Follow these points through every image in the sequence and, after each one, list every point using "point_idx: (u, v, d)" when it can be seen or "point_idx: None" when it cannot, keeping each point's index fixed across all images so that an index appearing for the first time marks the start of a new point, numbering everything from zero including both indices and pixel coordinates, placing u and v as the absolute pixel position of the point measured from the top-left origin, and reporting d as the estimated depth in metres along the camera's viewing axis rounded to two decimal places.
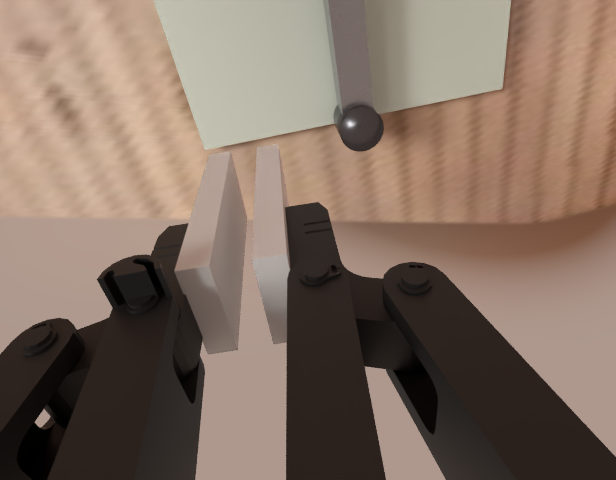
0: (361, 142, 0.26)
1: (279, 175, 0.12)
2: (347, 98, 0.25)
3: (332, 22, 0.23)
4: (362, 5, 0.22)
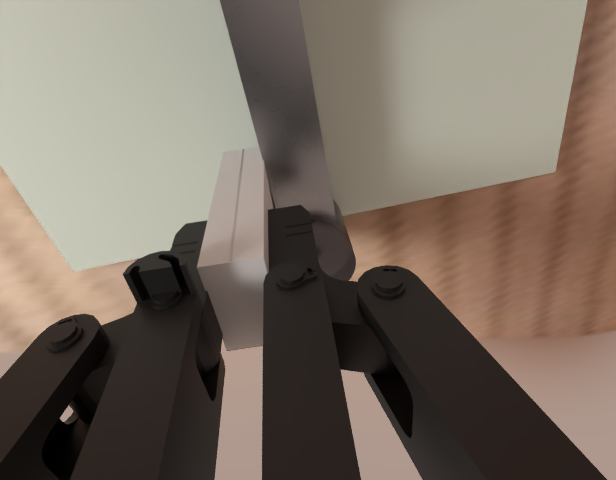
0: None
1: (262, 177, 0.12)
2: None
3: (246, 88, 0.12)
4: (303, 56, 0.11)
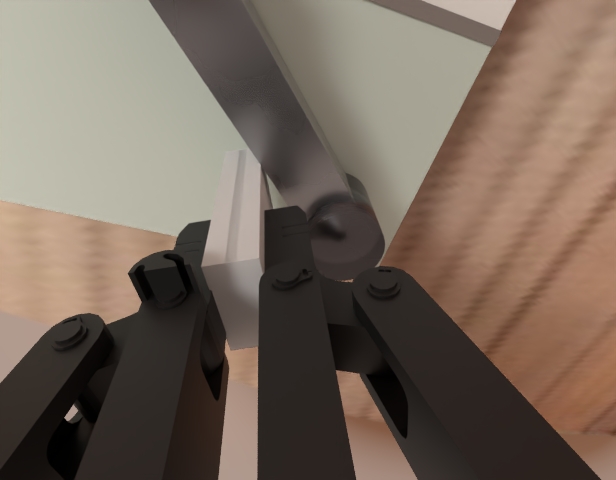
0: (351, 266, 0.14)
1: (259, 178, 0.12)
2: (300, 202, 0.13)
3: (214, 91, 0.11)
4: (257, 39, 0.11)
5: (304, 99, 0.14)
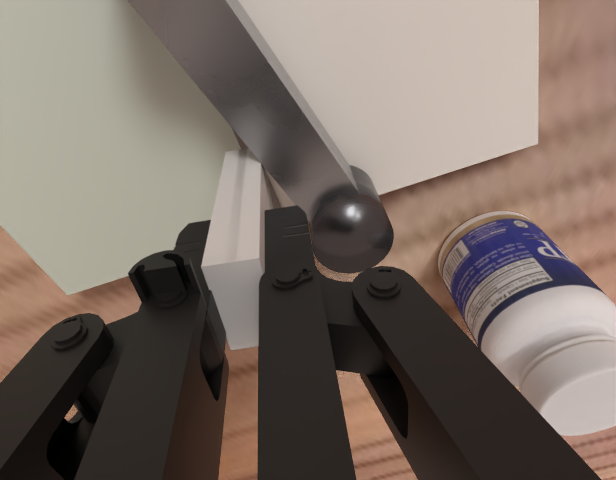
0: (361, 257, 0.14)
1: (259, 178, 0.12)
2: (305, 198, 0.14)
3: (209, 95, 0.11)
4: (247, 39, 0.11)
5: (301, 95, 0.14)
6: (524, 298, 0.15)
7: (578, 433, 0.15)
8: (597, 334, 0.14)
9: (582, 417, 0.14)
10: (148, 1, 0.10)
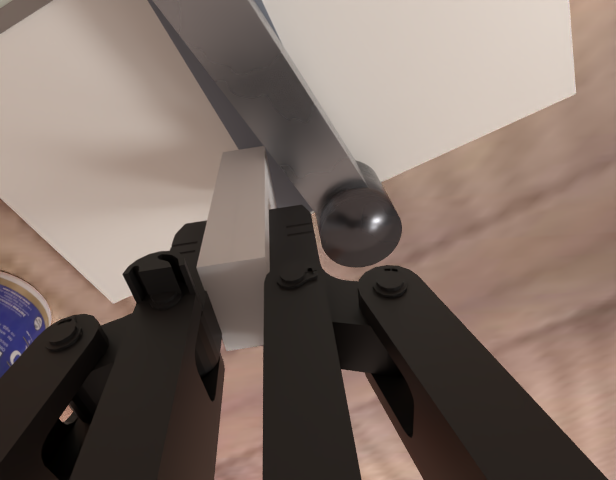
0: (369, 251, 0.14)
1: (263, 177, 0.12)
2: (314, 191, 0.14)
3: (221, 85, 0.11)
4: (261, 30, 0.11)
5: (310, 89, 0.14)
6: None
7: None
8: None
9: None
10: None
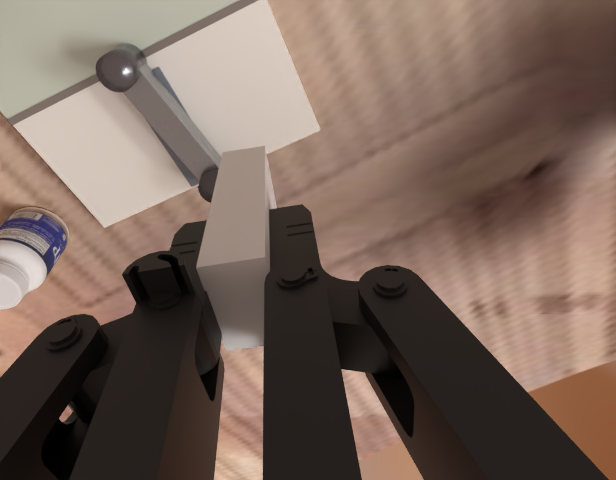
0: None
1: (263, 177, 0.12)
2: (195, 169, 0.32)
3: (153, 126, 0.30)
4: (167, 107, 0.29)
5: (195, 126, 0.32)
6: (28, 247, 0.33)
7: None
8: (26, 278, 0.32)
9: None
10: (131, 94, 0.28)
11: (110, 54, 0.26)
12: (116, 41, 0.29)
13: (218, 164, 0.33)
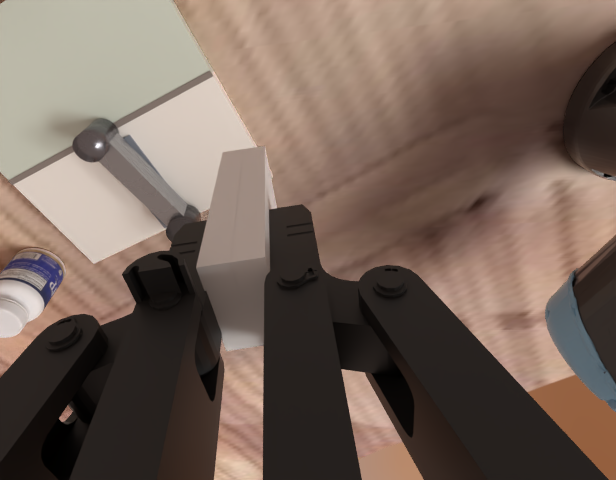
0: None
1: (263, 177, 0.12)
2: (163, 217, 0.38)
3: (125, 185, 0.36)
4: (135, 170, 0.35)
5: (162, 180, 0.38)
6: (27, 285, 0.39)
7: None
8: (26, 311, 0.39)
9: None
10: (104, 161, 0.34)
11: (83, 134, 0.32)
12: (92, 116, 0.35)
13: (183, 212, 0.38)
